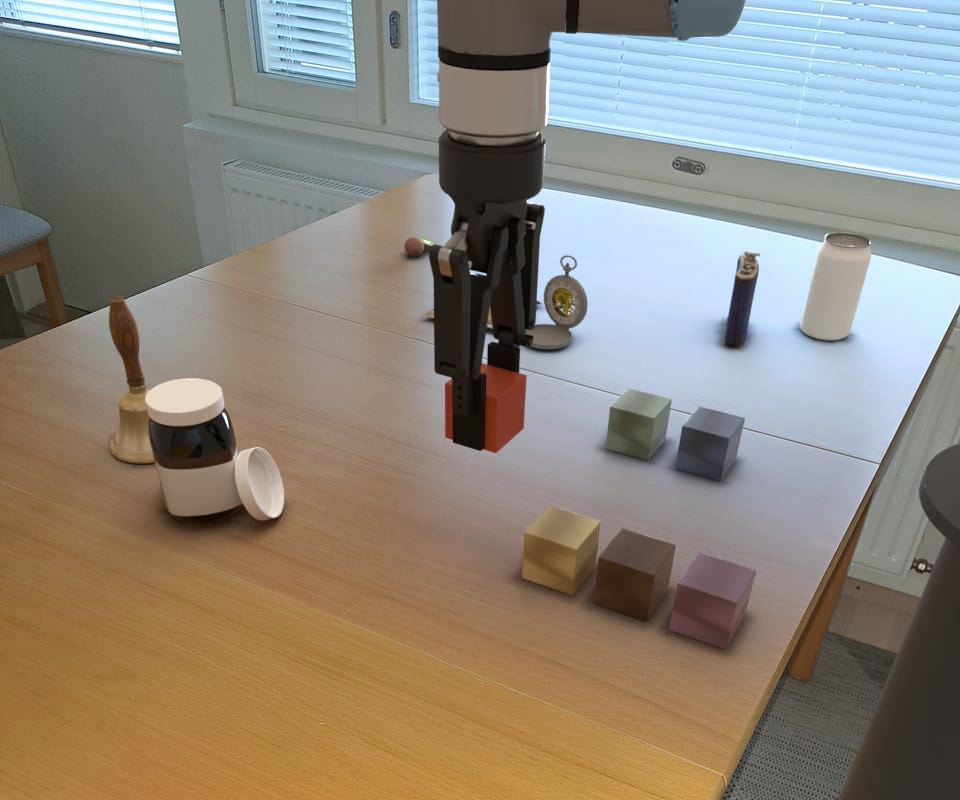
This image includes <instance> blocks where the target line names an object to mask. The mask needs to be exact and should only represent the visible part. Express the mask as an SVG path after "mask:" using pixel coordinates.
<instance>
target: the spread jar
mask: <svg viewBox="0 0 960 800" xmlns="http://www.w3.org/2000/svg"><path fill="white" fill-rule="evenodd" d="M149 390H150V391H149V392H148V393H147V395H146V397H145V403H146V407H147V411H148V414H149V417H150V418H149V424H148V429H149V438H150V444H151V448H152V452H153V456H154V460H155V463H154V465H155V468H156V472H157V476H158V481H159V484H160V490H161V493H162V497H163V500H164V504H165V506H166V509H167V511H168V513H169V515H171V517H172V518H174V519H176V520H178V521H180V522H186V523H191V524H205V523H206V524H207V523H213V522H218V521H220V520H224V519H226V518H229V517H230V516H232V515H233V514H235V513H236V512H238V511H239V510H241V509H242V507H244V508H245V509H246V511H247V512H248V513H249V514H250V516H252V517H253V518H254V519H255V520H257V521H268V520H271V519H272V520H273V519H276V518H278V517H279V516H280V515H281V514H282V512H283V510H284V506H285V489H284V484H283V479H282V476H281V472H280V470H279V468H278V466H277V464H276V462H275V460H274V458H273V457H272V456H271V454H270V453H269V452H268V451H267V450H266V449H265V448H262V447H260V446H255V447H251V448H247V449H243V450H241V451H240V452H239V451H238V446H237V439H236V434H235V430H234V426H233V422H232V419H231V416H230V414H229V412H228V411H227V409H226V407H225V399H224V394H223V389H222V388H221V386H220V385H218V383H215V382H214V381H211V380H208V379H204V378H195V377H194V378H193V377H189V378H188V377H187V378H177V379H172V380H169V381H168V380H167V381H165V382H162V383H160V384H158V385H155V386H153V388H151V389H149Z"/></svg>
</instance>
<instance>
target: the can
mask: <svg viewBox="0 0 960 800" xmlns="http://www.w3.org/2000/svg"><path fill="white" fill-rule="evenodd" d="M871 245H872V240H871V239H870V238H869V237H867V236H864V235H862V234H860V233H859V234H858V233H855V232H847V231H837V232H830V233H826V235H824V241H823V242H822V243H821V245H820V246H819V248H818V250H817V254H816V258H815V262H814V266H813V270H812V274H811V278H810V282H809V285H808V290H807V294H806V295H807V296H806V298H805V303H804V307H803V310H802V314H801V315H802V316H801V320H800V325H799V328H800V330H801V333H803V334H804V335H806V336H807V337H808V338H811V339H814V340H818V341H824V342H825V341H826V342H836V341H841V340H844V339H846V337H848V336H849V335H850V332H851V331H852V327H853V323H854V319H855V316H856V313H857V309H858V306H859V301H860V298H861V295H862V291H863V288H864V284H865V280H866V276H867V273H868V271H869V266H870V261H871V258H872V251H871Z"/></svg>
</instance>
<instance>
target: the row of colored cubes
mask: <svg viewBox="0 0 960 800" xmlns="http://www.w3.org/2000/svg"><path fill="white" fill-rule="evenodd" d="M600 530H601V520H598V519H595V518H592V517H589V516H586V515H582V514H579V513H576V512H573V511H570V510H567V509H564V508H560V507H557V506H554V505H549V506H548V507H547V508H546V509H545V510H544V511H543V512H542V513H541V514H540V515H539V517H537V519H535V521H534V522H533V523H532V524H531V525H530V526H529V527H528V528H527V529H526V530H525V531H524V535H523V538H524V539H523V552H522V553H523V555H522V570H521V571H522V572H521V573H522V575H521V579H523V580H527V581H529V582H531V583H535V584H537V585H540V586H542V587H543V586H544V587H546V588H549V589H552V590H555V591H558V592H560V593H564V594H565V595H569V596H573V595H574V594H575V593H576V592H577V590H578V589H579V587H580V586H581V585H582V584H583V583H584V581H586V579H587V578H588V577H589V575H590V574H591V573H592V572H593V570H594V569H595V568H596V566H597V569H596V576H595V586H594V594H593V604H595V605H598V606H601V607H604V608H606V609H609V610H612V611H614V612H617V613H620V614H623V615H626V616H628V617H629V616H630V617H631V618H635V619H638V620H640V621H644V622H647V621H648V620H649V619H650V618H651V616H652V614H653V613H654V612H655V610H656V609H657V607H658V606H659V604H660V603H661V602H662V600H663V598H664V597H665V595H666V594H667V592H668V591H669V586H670V580H671V574H672V569H673V564H674V558H675V553H676V548H677V547H676V546H677V545H676V544H674V543H671V542H667V541H664V540H661V539H658V538H655V537H652V536H649V535H646V534H643V533H639V532H637V531H633V530H630V529H627V528H621V529H620V530H619V531H618V532H617V534H616V535H615V536H614V538H613V539H611V541H610V543H608V545H606V547H605V548H604V550H603V551H602V552H601V553H600V555H599V556H598V550H599V549H598V548H599V539H600V532H601V531H600ZM597 557H598V559H597ZM756 573H757V570H756V569H754V568H751V567H747V566H744V565H741V564H737V563H734V562H732V561H729V560H726V559H722V558H719V557H716V556H712V555H710V554H706V553H703V552H697V554H696V556H695V557H694V559H692V561H691V562H690V564H689V565H688V567H687V569H686V570H685V572H684V573H683V575H682V576H681V577H680V579H679V580H678V582H677V583H676V584H677V585H676V591H675V596H674V599H673V607H672V610H671V617H670V621H669V628H668V630H669V631H672V632H674V633H676V634H677V633H678V634H680V635H683V636H686V637H689V638H692V639H694V640H696V641H699V642H702V643H706V644H708V645H711V646H714V647H717V648H718V649H719V648H720V649H723V650H727V648H728V647H729V645H730V643H731V641H732V640H733V638H734V635H735V634H736V633H737V631H738V629H739V627H740V626H741V624H742V622H743V620H744V619H745V617H746V612H747V609H748V604H749V600H750V598H751V597H750V596H751V593H752V589H753V585H754V581H755V577H756V575H757V574H756Z"/></svg>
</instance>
